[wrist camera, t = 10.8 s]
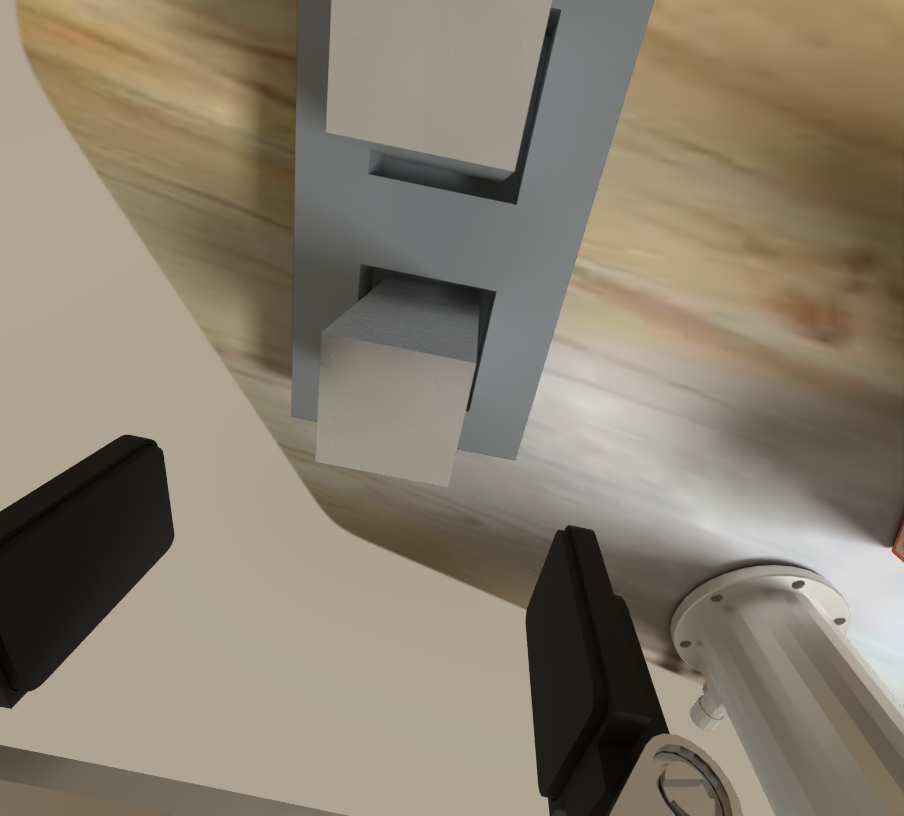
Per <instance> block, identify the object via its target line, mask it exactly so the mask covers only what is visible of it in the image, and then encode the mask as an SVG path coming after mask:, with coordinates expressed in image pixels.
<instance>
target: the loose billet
mask: <svg viewBox="0 0 904 816" xmlns="http://www.w3.org/2000/svg"><path fill="white" fill-rule="evenodd" d="M479 303H480V293H478V292H473V291H468V290H463V289H458V288H454V287H449V286H444V285H439V284H434V283H429V282H424V281H419V280H414V279H409V278H404V277H400V276H395V275H389V276H388V277H387V278H386V279H385V280H383V281H382V282H381V283H380V284H379V285H377V286H376V287H375V288H374V289H373V290H371V291H370V292H369V293H368V294H367V295H365V296H364V297H363V298H362V299H361V300H360V301H358V302H357V303H356V304H355V305H354V306H352V307H351V308H350V309H349V310H348V311H346V312H345V313H344V314H343V315H342V316H340V317H339V318H338V319H337V320H336V321H334V322H333V323H332V324H331V325H330V326H329V327H327V328H326V329H325V330H324V331H323V332H321V353H320V374H319V396H318V417H317V438H316V459H315V462H319V463H324V464H330V465H335V466H340V467H345V468H350V469H355V470H361V471H366V472H371V473H376V474H381V475H386V476H392V477H397V478H402V479H407V480H412V481H417V482H422V483H428V484H433V485H438V486H443V487H449V483H450V478H451V474H452V469H453V465H454V460H455V456H456V452H457V447H458V443H459V438H460V434H461V429H462V425H463V421H464V416H465V412H466V407H467V403H468V398H469V394H470V390H471V385H472V381H473V376H474V372H475V367H476V361H477V342H478V323H479Z"/></svg>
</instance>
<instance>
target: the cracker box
mask: <svg viewBox="0 0 904 816" xmlns="http://www.w3.org/2000/svg"><path fill="white" fill-rule="evenodd" d="M892 552H893V553H894V554H895V555H896V556H897V557H898V558H899V559H900V560H902V561H903V562H904V519H903V522H902V525H901V527H900V530H899V533H898V535H897V538H896V541H895V543H894V546H893V548H892Z"/></svg>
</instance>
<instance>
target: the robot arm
mask: <svg viewBox="0 0 904 816" xmlns="http://www.w3.org/2000/svg"><path fill="white" fill-rule="evenodd" d="M173 539H174V529H173V521H172V514H171V507H170V500H169V492H168V484H167V477H166V469H165V462H164V455H163V451H162V450H161V448H159V447H158V445H157V443H156V442H155V441H154V440H151V439H147V438H142V437H137V436H132V435H123V436H121V437H119V438H118V439H116V440H114V441H112V442H111V443H109V444H108V445H106V446H105V447H103V448H101V449H100V450H98V451H96V452H95V453H93V454H92V455H90V456H88V457H87V458H85V459H84V460H82V461H80V462H79V463H77V464H76V465H74V466H72V467H71V468H69V469H68V470H66V471H65V472H63V473H61V474H60V475H58V476H56V477H55V478H53V479H52V480H50V481H48V482H47V483H45V484H44V485H42V486H40V487H39V488H37V489H36V490H34V491H32V492H31V493H29V494H28V495H26V496H24V497H23V498H21V499H20V500H18V501H17V502H15V503H13V504H12V505H10V506H8V507H7V508H5V509H4V510H2V511H1V512H0V707H5V708H10V709H11V708H12V707H13V706H14V705H15V704H16V703H17V702H18V701H19V700H20V699H21V698H22V697H23V696H24V695H25V694H26V693H27V692H28V691H32V690H35V689H36V688H38V687H39V686H40V685H42V684H43V683H44V682H45V681H46V680H47V678H48V677H49V676H50V675H51V674H52V673H53V672H54V671H55V670H56V669H57V668H58V667H59V666H60V665H61V664H62V663H63V662H64V660H65V659H66V658H67V657H68V656H69V655H70V654H71V653H72V652H73V651H74V650H75V649H76V648H77V647H78V646H79V645H80V643H81V642H82V641H83V640H84V639H85V638H86V637H87V636H88V635H89V634H90V633H91V632H92V630H94V628H95V627H96V626H97V625H98V624H99V623H100V622H101V621H102V620H103V619H104V618H105V617H106V616H107V615H108V614H109V613H110V611H111V610H112V609H113V608H114V607H115V606H116V605H117V604H118V603H119V602H120V601H121V600H122V599H123V597H125V595H126V594H127V593H128V592H129V591H130V590H131V589H132V588H133V587H134V586H135V585H136V584H137V583H138V582H139V581H140V579H141V578H142V577H143V576H144V575H145V574H146V573H147V572H148V571H149V570H150V569H151V568H152V567H153V566H154V565H155V563H156V562H157V561H158V560H159V559H160V558H161V557H162V556H163V555H164V554H165V553H166V552H167V551H168V549H169V548H170V546H171V545H172V542H173ZM849 621H850V612H849V607H848V604H847V603H846V601H845V599H844V598H843V596H842V595H841V594H840V593H839V592H838V590H837V589H836V588H835V587H834V586H833V585H832V584H831V583H830V582H829V581H827V580H826V579H824V578H823V577H822V576H820V575H818V574H815V573H813V572H811V571H808V570H805V569H801V568H796V567H792V566H780V565H766V566H754V567H748V568H743V569H738V570H735V571H732V572H728V573H725V574H722V575H720V576H718V577H716V578H713V579H711V580H709V581H707V582H706V583H704V584H702V585H701V586H699V587H698V588H696V589H695V590H694V591H693V592H691V593H690V594H689V595H688V596H687V597H686V598H685V599H684V600H683V601H682V602H681V604H680V605H679V606H678V608H677V609H676V611H675V613H674V615H673V617H672V621H671V627H670V631H671V638H672V640H673V643H674V645H675V648H676V651H677V652H678V654H679V656H680V657H681V659H682V660H683V661H684V662H685V663H686V664H687V665H689V666H690V667H691V668H693V669H695V670H696V671H698V672H700V673H702V676H703V678H704V680H705V683H704V685H703V692H704V695H703V696H701V697H700V698H699V699H698V700H697V701H696V703H695V704H694V705H693V707H692V708H691V709H690V716H691V719H692V720H693V722H694V723H695V724H696V726H698V727H699V728H700V729H702V730H703V731H707V732H710V731H712V730H713V729H714V728H715V727H716V726H717V725H718V724H719V722H720V721H721V720H722V718H723V715H724V714H728V715H729V718H730V720H731V722H732V724H733V726H734V728H735V731H736V733H737V735H738V737H739V739H740V741H741V743H742V746H743V747H744V750H745V752H746V754H747V756H748V758H749V760H750V762H751V765H752V767H753V769H754V771H755V773H756V775H757V778H758V780H759V782H760V784H761V786H762V788H763V790H764V792H765V795H766V797H767V799H768V801H769V803H770V805H771V807H772V810H773V812H774V814H775V815H776V816H904V706H903V705H902V704H901V703H900V701H899V700H898V699H897V698H896V697H895V695H894V694H893V693H892V692H891V690H890V689H889V688H888V687H887V686H886V684H885V683H884V682H883V681H882V679H881V678H880V677H879V676H878V675H877V673H876V672H875V671H874V670H873V668H872V667H871V666H870V665H869V664H868V662H867V661H866V660H865V659H864V657H863V656H862V655H861V654H860V653H859V651H858V650H857V649H856V648H855V646H854V645H853V644H852V643H851V642H850V640H849V639H848V638H847V637H846V635H845V634H846V632H847V630H848V627H849ZM526 633H527V646H528V659H529V671H530V685H531V697H532V710H533V723H534V736H535V748H536V762H537V774H538V786H539V791H540V794H541V796H543V797H548V802H549V813H550V816H743V814H742V810H741V806H740V802H739V799H738V797H737V795H736V793H735V791H734V789H733V787H732V784H731V782H730V781H729V779H728V778H727V777H726V775H725V774H724V772H723V771H722V770H721V768H720V767H719V765H718V764H717V763H716V762H715V761H714V760H713V759H712V758H711V757H710V756H709V755H708V754H707V753H706V752H705V751H704V750H702V749H701V748H700V747H698V746H697V745H695V744H694V743H692V742H691V741H689V740H687V739H685V738H682V737H680V736H678V735H672V734H670V733H669V731H668V728H667V724H666V722H665V718H664V715H663V712H662V709H661V707H660V703H659V700H658V697H657V694H656V692H655V688H654V686H653V683H652V679H651V677H650V674H649V671H648V667H647V664H646V661H645V658H644V655H643V652H642V649H641V646H640V643H639V640H638V637H637V634H636V631H635V628H634V625H633V622H632V619H631V616H630V613H629V610H628V607H627V605H626V603H625V601H624V599H623V598H622V597H621V596H617V595H614V593H613V590H612V587H611V584H610V580H609V577H608V574H607V571H606V567H605V564H604V561H603V558H602V555H601V551H600V548H599V545H598V542H597V538H596V535H595V533H594V531H593V530H590V529H585V528H580V527H575V526H570V525H568V526H567V527H566V528H565V530H564V531H563V530H558V531H557V532H556V535H555V537H554V540H553V542H552V545H551V548H550V550H549V553H548V555H547V558H546V561H545V563H544V566H543V568H542V571H541V574H540V576H539V579H538V581H537V584H536V587H535V589H534V592H533V594H532V597H531V600H530V602H529V605H528V608H527V612H526ZM0 816H347V815H342V814H337V813H332V812H328V811H323V810H318V809H313V808H308V807H304V806H299V805H294V804H289V803H285V802H280V801H275V800H270V799H265V798H260V797H256V796H251V795H246V794H241V793H236V792H231V791H226V790H221V789H216V788H211V787H207V786H202V785H197V784H191V783H187V782H182V781H177V780H172V779H167V778H162V777H158V776H153V775H147V774H143V773H138V772H133V771H128V770H123V769H118V768H113V767H108V766H103V765H98V764H93V763H88V762H83V761H78V760H73V759H68V758H63V757H58V756H53V755H48V754H42V753H38V752H33V751H28V750H22V749H17V748H12V747H7V746H2V745H0Z"/></svg>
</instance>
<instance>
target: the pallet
mask: <svg viewBox="0 0 904 816" xmlns="http://www.w3.org/2000/svg"><path fill="white" fill-rule="evenodd" d="M653 3H654V0H552V4H551V8H550V13H549V17H548V22H547V27H546V31H545V36H544V40H543V45H542V49H541V54H540V58H539V63H538V67H537V72H536V76H535V81H534V86H533V90H532V95H531V99H530V104H529V108H528V113H527V117H526V122H525V126H524V131H523V136H522V140H521V145H520V149H519V154H518V158H517V163H516V167H515V172H513V173H512V174H511V175H510V176H508V177H507V178H506V179H505V180H503V181H502V182H501V183H500V182H495V181H491V180H486V179H481V178H476V177H471V176H467V175H462V174H457V173H452V172H447V171H443V170H438V169H433V168H428V167H423V166H419V165H414V164H409V163H404V162H400V161H397V160H395V159H392V158H390V157H387V156H385V155H382V154H380V153H377V152H375V151H372V150H370V149H367V148H365V147H362V146H360V145H357V144H354V143H352V142H349V141H347V140H344V139H342V138H339V137H337V136H334V135H332V134H329V133H327V132H326V118H327V94H328V70H329V46H330V22H331V0H298V5H297V74H296V142H295V210H294V279H293V347H292V415H291V417H295V418H300V419H305V420H310V421H315V422H317V417H318V396H319V374H320V353H321V332H323V331H324V330H325V329H326V328H327V327H329V326H330V325H331V324H332V323H333V322H334V321H336V320H337V319H338V318H339V317H340V316H342V315H343V314H344V313H345V312H346V311H348V310H349V309H350V308H351V307H352V306H354V305H355V304H356V303H357V302H358V301H360V300H361V299H362V298H363V297H364V296H365V295H367V294H368V293H369V292H370V291H371V290H373V289H374V288H375V287H376V286H377V285H379V284H380V283H381V282H382V281H383V280H385V279H386V278H387V277H388V276H389V275H395V276H400V277H404V278H409V279H414V280H419V281H424V282H429V283H434V284H439V285H444V286H449V287H454V288H458V289H463V290H468V291H473V292H478V293H480V303H479V323H478V342H477V361H476V367H475V372H474V376H473V381H472V385H471V390H470V394H469V398H468V403H467V407H466V412H465V416H464V421H463V425H462V429H461V434H460V438H459V443H458V447H457V449H459V450H464V451H469V452H474V453H479V454H485V455H490V456H495V457H500V458H505V459H510V460H515V459H516V456H517V453H518V449H519V446H520V443H521V439H522V436H523V433H524V429H525V426H526V423H527V420H528V416H529V413H530V410H531V406H532V403H533V400H534V396H535V393H536V390H537V386H538V383H539V380H540V377H541V373H542V370H543V367H544V363H545V360H546V357H547V353H548V350H549V347H550V343H551V340H552V337H553V334H554V330H555V327H556V324H557V320H558V317H559V314H560V310H561V307H562V304H563V301H564V297H565V294H566V291H567V287H568V284H569V281H570V277H571V274H572V271H573V267H574V264H575V261H576V258H577V254H578V251H579V248H580V244H581V241H582V238H583V234H584V231H585V228H586V224H587V221H588V218H589V215H590V211H591V208H592V205H593V201H594V198H595V195H596V191H597V188H598V185H599V181H600V178H601V175H602V172H603V168H604V165H605V162H606V158H607V155H608V152H609V148H610V145H611V142H612V138H613V135H614V132H615V129H616V125H617V122H618V119H619V115H620V112H621V109H622V105H623V102H624V99H625V96H626V92H627V89H628V86H629V82H630V79H631V76H632V72H633V69H634V66H635V62H636V59H637V56H638V53H639V49H640V46H641V43H642V39H643V36H644V33H645V29H646V26H647V23H648V19H649V16H650V13H651V10H652V6H653Z"/></svg>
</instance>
